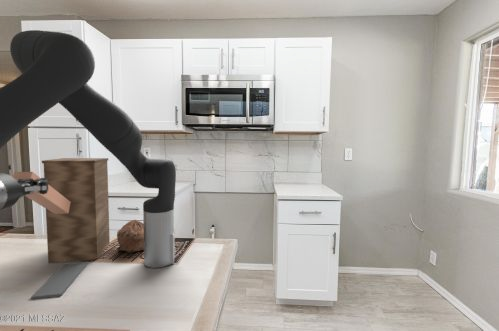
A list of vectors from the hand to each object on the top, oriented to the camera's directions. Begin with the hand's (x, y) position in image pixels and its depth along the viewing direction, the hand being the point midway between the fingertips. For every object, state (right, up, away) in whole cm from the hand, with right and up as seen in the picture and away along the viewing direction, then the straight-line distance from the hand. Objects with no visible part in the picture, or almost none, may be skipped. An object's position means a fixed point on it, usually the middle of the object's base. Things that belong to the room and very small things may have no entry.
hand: (35, 182), depth 63 cm
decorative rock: (+10, -26, +32) cm, 42 cm away
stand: (-7, -26, +28) cm, 39 cm away
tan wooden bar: (-1, -5, +4) cm, 6 cm away
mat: (0, -28, +10) cm, 29 cm away
